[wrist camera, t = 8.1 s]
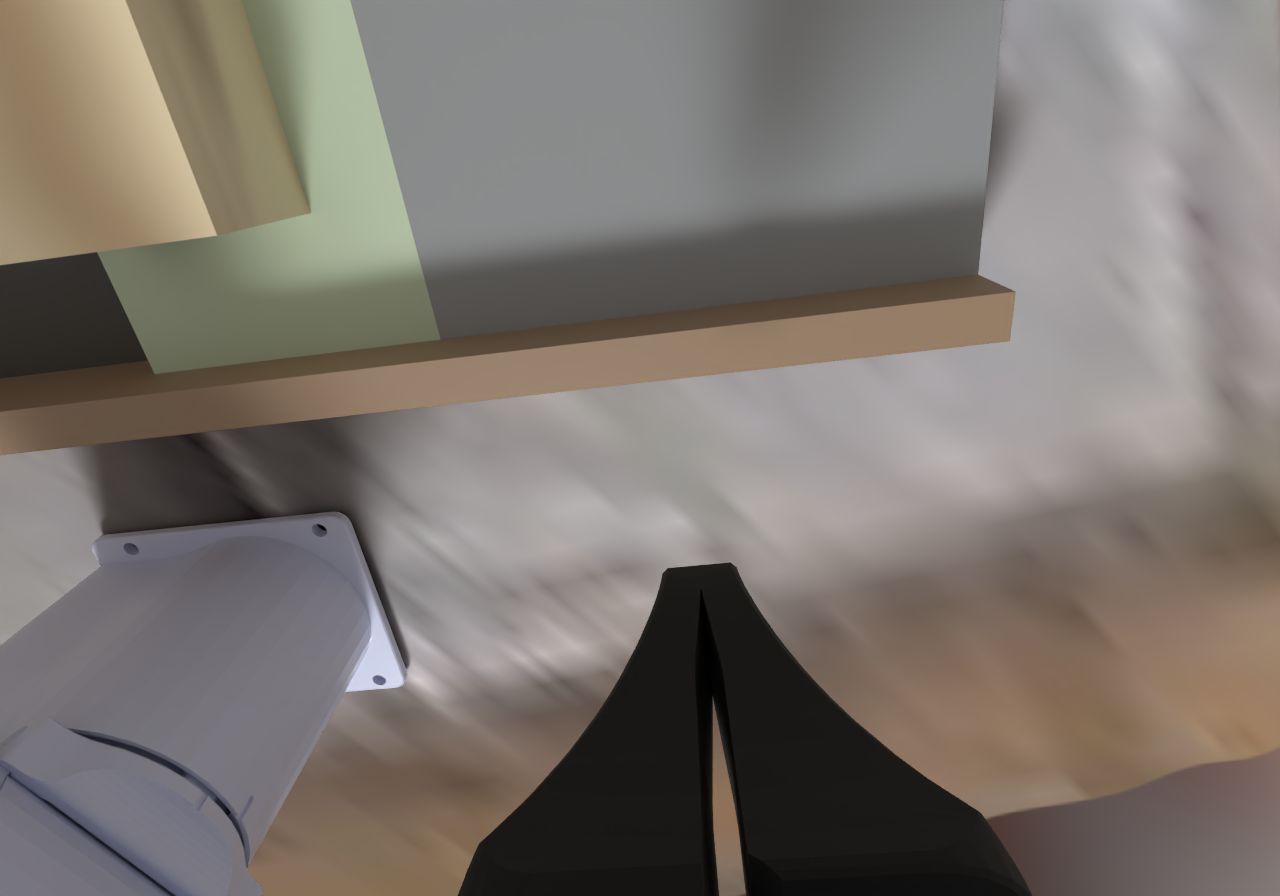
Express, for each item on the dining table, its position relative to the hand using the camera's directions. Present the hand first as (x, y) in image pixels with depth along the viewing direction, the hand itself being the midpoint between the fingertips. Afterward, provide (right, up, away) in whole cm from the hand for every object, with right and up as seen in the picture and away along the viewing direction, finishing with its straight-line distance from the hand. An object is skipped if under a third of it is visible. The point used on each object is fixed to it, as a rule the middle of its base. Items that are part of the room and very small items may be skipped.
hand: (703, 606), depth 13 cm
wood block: (-13, +11, +3) cm, 17 cm away
